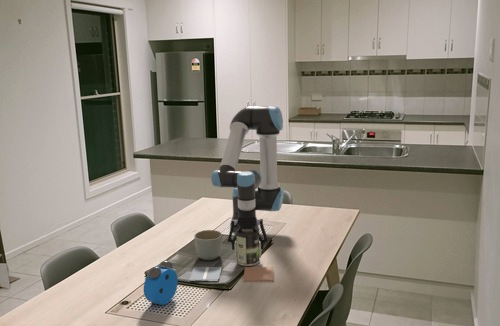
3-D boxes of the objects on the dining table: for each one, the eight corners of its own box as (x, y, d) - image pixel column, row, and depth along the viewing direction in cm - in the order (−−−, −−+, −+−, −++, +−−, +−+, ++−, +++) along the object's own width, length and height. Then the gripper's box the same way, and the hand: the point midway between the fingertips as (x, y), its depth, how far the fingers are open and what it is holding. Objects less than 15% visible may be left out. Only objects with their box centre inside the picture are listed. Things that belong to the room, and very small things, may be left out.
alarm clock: (166, 292, 180) (164, 256, 176) (179, 295, 177) (177, 259, 174) (144, 308, 168) (141, 269, 165) (157, 312, 165) (155, 273, 162)
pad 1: (194, 268, 200) (193, 266, 199) (221, 268, 199) (221, 266, 199) (189, 281, 188) (189, 279, 188) (218, 281, 187) (218, 279, 187)
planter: (226, 253, 215) (226, 231, 213) (216, 264, 203) (215, 241, 201) (202, 250, 219) (201, 228, 217) (190, 261, 207) (189, 238, 205)
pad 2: (245, 268, 199) (245, 266, 198) (273, 268, 198) (273, 266, 198) (243, 281, 187) (243, 279, 187) (273, 281, 186) (273, 279, 186)
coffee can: (261, 256, 209) (261, 227, 205) (257, 266, 199) (256, 236, 196) (239, 255, 211) (238, 226, 207) (234, 265, 201) (232, 234, 198)
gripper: (219, 211, 196) (221, 259, 201) (273, 210, 195) (273, 259, 200) (221, 205, 203) (223, 252, 208) (273, 204, 202) (273, 252, 207)
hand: (248, 256), depth 204 cm, fingers closed on coffee can, 10 cm apart
